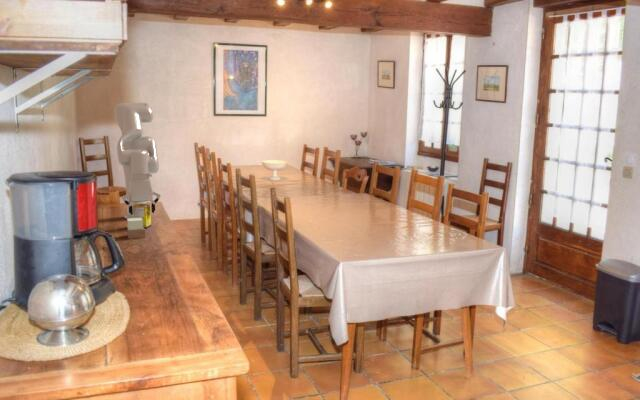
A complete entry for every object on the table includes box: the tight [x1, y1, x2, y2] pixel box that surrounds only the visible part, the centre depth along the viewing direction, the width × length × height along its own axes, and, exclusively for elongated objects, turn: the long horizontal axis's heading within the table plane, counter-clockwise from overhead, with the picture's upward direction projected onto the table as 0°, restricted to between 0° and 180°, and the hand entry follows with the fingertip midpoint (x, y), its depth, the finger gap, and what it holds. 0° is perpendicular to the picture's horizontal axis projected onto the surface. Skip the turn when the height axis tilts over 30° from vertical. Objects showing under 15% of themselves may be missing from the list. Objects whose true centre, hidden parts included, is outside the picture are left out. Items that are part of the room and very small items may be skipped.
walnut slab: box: [126, 226, 146, 240], centre depth 256 cm, size 7×7×4 cm
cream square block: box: [126, 218, 143, 230], centre depth 255 cm, size 6×6×4 cm
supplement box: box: [133, 203, 152, 229], centre depth 274 cm, size 6×6×11 cm
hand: (142, 213), depth 273 cm, fingers open, 9 cm apart
